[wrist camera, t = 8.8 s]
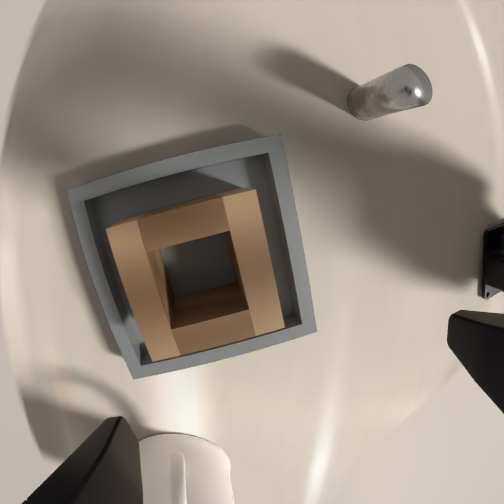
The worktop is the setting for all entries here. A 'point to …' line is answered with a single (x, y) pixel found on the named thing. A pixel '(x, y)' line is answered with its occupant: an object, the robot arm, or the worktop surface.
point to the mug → (184, 471)
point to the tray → (196, 242)
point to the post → (391, 93)
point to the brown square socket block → (207, 301)
